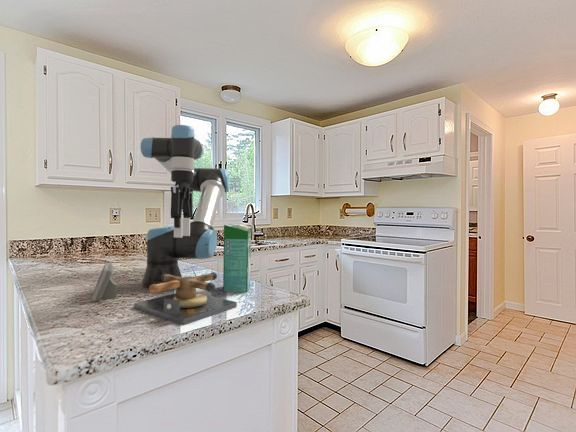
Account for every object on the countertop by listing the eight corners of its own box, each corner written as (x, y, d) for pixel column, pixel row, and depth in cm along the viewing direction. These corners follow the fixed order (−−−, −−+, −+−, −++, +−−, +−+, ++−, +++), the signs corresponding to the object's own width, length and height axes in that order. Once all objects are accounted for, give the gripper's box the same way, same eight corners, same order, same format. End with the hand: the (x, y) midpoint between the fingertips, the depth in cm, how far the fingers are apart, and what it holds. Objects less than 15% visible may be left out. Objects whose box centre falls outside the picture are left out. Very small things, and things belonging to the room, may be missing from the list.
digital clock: (96, 291, 119) (96, 262, 119) (123, 289, 121) (123, 261, 121) (81, 303, 103) (81, 270, 103) (113, 302, 106) (113, 269, 106)
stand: (131, 308, 99) (131, 290, 99) (187, 294, 116) (187, 279, 116) (181, 325, 85) (181, 305, 85) (236, 306, 102) (236, 289, 102)
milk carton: (247, 292, 120) (248, 224, 120) (223, 291, 121) (223, 224, 120) (250, 286, 130) (251, 223, 129) (228, 285, 130) (228, 223, 129)
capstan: (126, 303, 98) (126, 279, 97) (192, 288, 118) (192, 267, 118) (176, 320, 83) (177, 291, 83) (242, 299, 104) (242, 276, 104)
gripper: (183, 173, 123) (182, 234, 124) (159, 167, 104) (158, 238, 105) (202, 173, 122) (202, 234, 123) (181, 167, 103) (181, 239, 104)
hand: (182, 236), depth 114 cm, fingers open, 6 cm apart
